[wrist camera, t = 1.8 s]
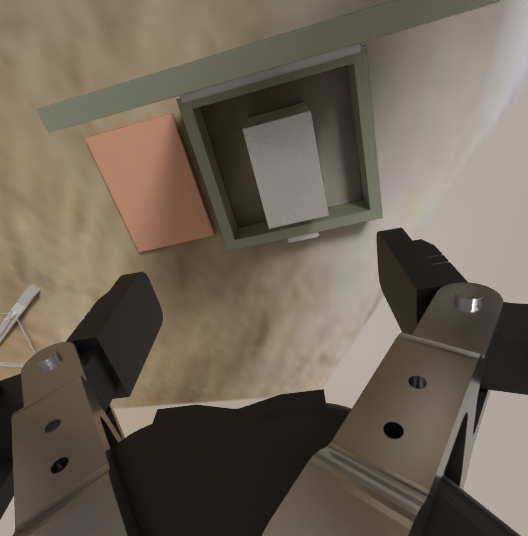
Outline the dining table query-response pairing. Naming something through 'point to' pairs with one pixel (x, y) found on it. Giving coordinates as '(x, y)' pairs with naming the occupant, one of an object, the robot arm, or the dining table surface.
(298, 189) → the block
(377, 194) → the equipment case
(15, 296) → the dining table surface
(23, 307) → the crossbow
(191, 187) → the rust mat
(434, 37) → the dining table surface
